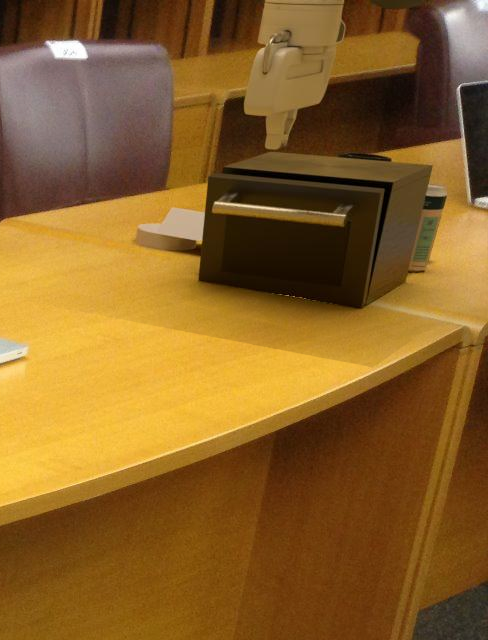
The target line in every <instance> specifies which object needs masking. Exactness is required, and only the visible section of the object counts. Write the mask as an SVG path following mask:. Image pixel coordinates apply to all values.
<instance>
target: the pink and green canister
mask: <svg viewBox="0 0 488 640" xmlns="http://www.w3.org/2000/svg"><path fill="white" fill-rule="evenodd" d="M447 198H448V192H447V187H446V186H445V185H440V184H435V183H429V184H428V188H427V193H426V197H425V201H424V206H423V210H422V214H421V218H420V223H419V227H418V231H417V235H416V240H415V244H414V248H413V252H412V257H411V261H410V265H409V270H408V273H420V272H422V271H424V270H426V269H427V268H428V265H429V261H430V258H431V255H432V251H433V247H434V244H435V240H436V237H437V233H438V229H439V226H440V222H441V219H442V216H443V212H444V208H445V204H446V201H447Z"/></svg>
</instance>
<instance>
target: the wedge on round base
mask: <svg viewBox="0 0 488 640" xmlns="http://www.w3.org/2000/svg"><path fill="white" fill-rule="evenodd" d="M204 217H205V211H198V210H193V209H186V208H180V207H173V206H172V207H171V208H170V210H169V212H168V213H167V215H166V216H165V218H164V219H163V220H162V222H159V223H156V222H155V223H142V224H139V225H137V228H136V234H135V240H134V242H135V244H137V245H138V246H140V247H146V248H149V249H155V250H162V251H189V250H194V249H195V248H196V246H197V242H202V237H203V227H204Z"/></svg>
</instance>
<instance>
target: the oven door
mask: <svg viewBox="0 0 488 640" xmlns="http://www.w3.org/2000/svg"><path fill="white" fill-rule="evenodd" d="M206 187H207V188H206V197H205V207H204V212H205V217H204V227H203V237H202V241H201V247H200V260H199V270H198V278H197V279H198V282H202V283H207V284H212V285H218V286H224V287H232V288H237V289H243V290H249V291H253V292H260V293H265V292H267V293H266V294H271V293H274V294H273V295H277V294H282V295H281V296H283V295H289V296H295V297H302V298H306V299H310V300H309V301H312V300H316V301H315V302H317V301H320V302H319V303H323V302H326V303H325V304H329V303H332V304H331V305H335V304H337V305H336V306H342V307H350V308H358V309H363V307H364V305H365V304H366V298H367V292H368V286H369V280H370V274H371V268H372V262H373V256H374V250H375V244H376V238H377V232H378V226H379V220H380V214H381V208H382V202H383V196H384V190H385V189H382V188H372V187H361V186H350V185H339V184H329V183H318V182H307V181H296V180H286V179H275V178H264V177H254V176H243V175H232V174H222V172H221V173H219V172H212V173H211V174H209V175H208V176H207V185H206ZM306 299H305V300H306Z"/></svg>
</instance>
